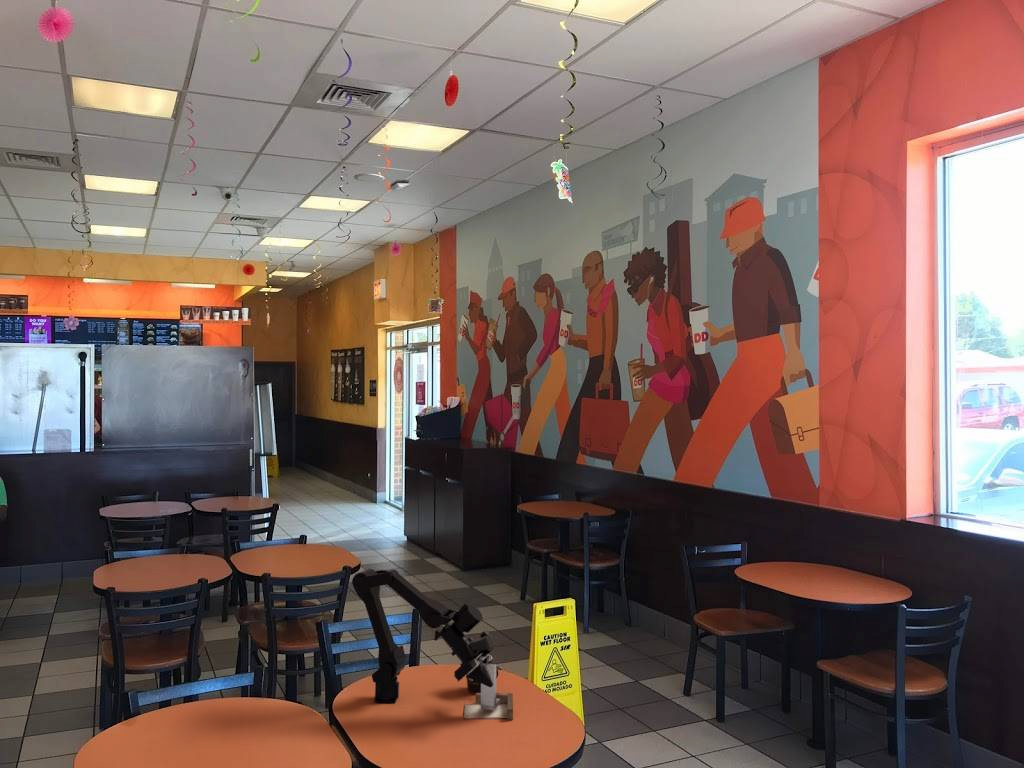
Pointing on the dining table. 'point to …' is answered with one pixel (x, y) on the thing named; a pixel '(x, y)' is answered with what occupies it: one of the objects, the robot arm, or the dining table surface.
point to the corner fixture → (500, 712)
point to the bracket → (489, 689)
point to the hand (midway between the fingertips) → (493, 685)
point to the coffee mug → (474, 685)
